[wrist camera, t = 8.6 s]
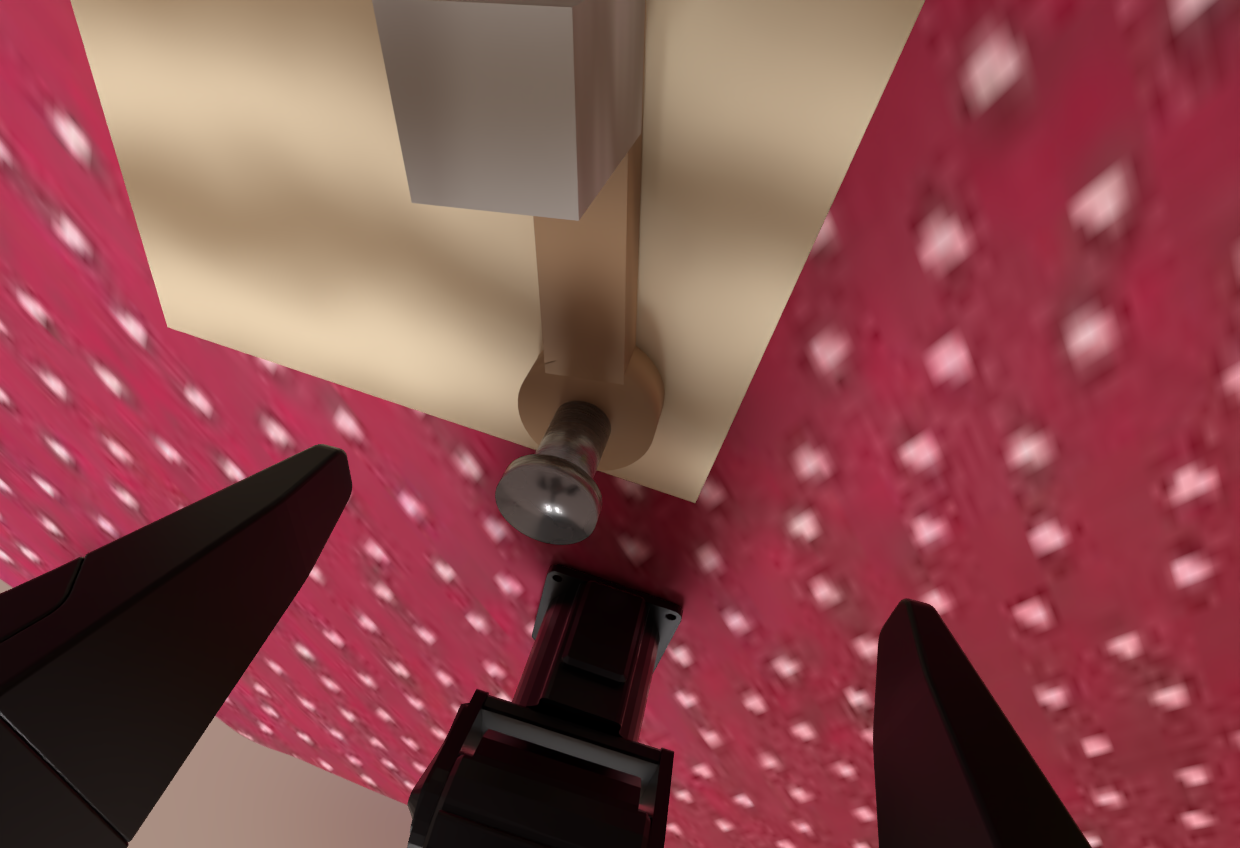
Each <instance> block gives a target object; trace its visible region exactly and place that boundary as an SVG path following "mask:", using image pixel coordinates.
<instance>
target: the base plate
mask: <svg viewBox="0 0 1240 848" xmlns="http://www.w3.org/2000/svg"><path fill="white" fill-rule="evenodd" d="M924 1H925V0H646V28H645V61H644V93H643V126H642V159H641V192H640V224H639V257H638V290H637V323H636V346H637V347H638V348H640V349H641V350H642V351H643V352H644V353H645V354H646V355H647V356H648V357H649V358H650V359H651V360H652V362H653V363H654V365H655V366H656V368H657V369H658V371H659V373H660V375H661V378H662V381H663V384H664V390H665V399H664V406H663V409H662V412H661V416H660V419H659V422H658V425H657V429H656V432H655V435H654V439H653V442H652V444H651V446H650V448H649V449H648V451H647V452H646V453H645V454H644V455H643V456H642V457H641V458H640V459H639V460H637V461H636V462H634V463H633V464H631V465H629V466H626V467H623V468H620V469H615V470H608V471H601V472H604V473H607V474H610V475H613V476H615V477H618V478H621V479H624V480H627V481H630V482H633V483H636V484H639V485H642V486H645V487H648V488H651V489H654V490H657V491H660V492H663V493H666V494H669V495H672V496H675V497H678V498H681V499H684V500H687V501H690V502H693V503H696V500H697V498H698V496H699V494H700V492H701V489H702V487H703V485H704V483H705V481H706V478H707V476H708V474H709V472H710V470H711V468H712V465H713V463H714V461H715V459H716V457H717V454H718V452H719V450H720V448H721V446H722V443H723V441H724V439H725V437H726V435H727V433H728V430H729V428H730V426H731V424H732V422H733V419H734V417H735V415H736V413H737V411H738V408H739V406H740V404H741V402H742V400H743V398H744V395H745V393H746V391H747V389H748V387H749V384H750V382H751V380H752V378H753V376H754V373H755V371H756V369H757V367H758V365H759V363H760V360H761V358H762V356H763V354H764V352H765V349H766V347H767V345H768V343H769V341H770V338H771V336H772V334H773V332H774V330H775V327H776V325H777V323H778V321H779V319H780V317H781V314H782V312H783V310H784V308H785V306H786V303H787V301H788V299H789V297H790V295H791V292H792V290H793V288H794V286H795V284H796V282H797V279H798V277H799V275H800V273H801V271H802V268H803V266H804V264H805V262H806V260H807V257H808V255H809V253H810V251H811V249H812V247H813V244H814V242H815V240H816V238H817V236H818V233H819V231H820V229H821V227H822V225H823V222H824V220H825V218H826V216H827V214H828V212H829V209H830V207H831V205H832V203H833V201H834V198H835V196H836V194H837V192H838V190H839V187H840V185H841V183H842V181H843V179H844V177H845V174H846V172H847V170H848V168H849V166H850V163H851V161H852V159H853V157H854V155H855V152H856V150H857V148H858V146H859V144H860V142H861V139H862V137H863V135H864V133H865V131H866V128H867V126H868V124H869V122H870V120H871V117H872V115H873V113H874V111H875V109H876V106H877V104H878V102H879V100H880V98H881V96H882V93H883V91H884V89H885V87H886V85H887V82H888V80H889V78H890V76H891V74H892V71H893V69H894V67H895V65H896V63H897V61H898V58H899V56H900V54H901V52H902V50H903V47H904V45H905V43H906V41H907V39H908V36H909V34H910V32H911V30H912V28H913V26H914V23H915V21H916V19H917V17H918V15H919V12H920V10H921V8H922V6H923V4H924ZM71 4H72V7H73V10H74V14H75V17H76V20H77V24H78V27H79V30H80V34H81V37H82V41H83V44H84V47H85V51H86V54H87V57H88V61H89V64H90V68H91V71H92V74H93V78H94V81H95V84H96V88H97V91H98V94H99V98H100V101H101V105H102V108H103V111H104V115H105V118H106V121H107V125H108V128H109V131H110V135H111V138H112V142H113V145H114V148H115V152H116V155H117V158H118V162H119V165H120V168H121V172H122V175H123V179H124V182H125V185H126V189H127V192H128V195H129V199H130V202H131V205H132V209H133V212H134V216H135V219H136V222H137V226H138V229H139V232H140V236H141V239H142V242H143V246H144V249H145V253H146V256H147V259H148V263H149V266H150V269H151V273H152V276H153V279H154V283H155V286H156V290H157V293H158V296H159V300H160V303H161V306H162V310H163V313H164V316H165V320H166V323H167V327H169V328H172V329H175V330H178V331H181V332H184V333H187V334H190V335H193V336H196V337H199V338H202V339H205V340H208V341H211V342H214V343H217V344H220V345H223V346H226V347H229V348H232V349H235V350H238V351H241V352H244V353H247V354H250V355H253V356H256V357H259V358H262V359H265V360H268V361H271V362H274V363H277V364H280V365H283V366H286V367H289V368H292V369H295V370H298V371H301V372H304V373H307V374H310V375H313V376H316V377H319V378H322V379H325V380H328V381H331V382H334V383H337V384H340V385H343V386H346V387H349V388H352V389H355V390H358V391H361V392H364V393H367V394H370V395H373V396H376V397H379V398H382V399H385V400H388V401H391V402H394V403H397V404H400V405H403V406H406V407H409V408H412V409H415V410H418V411H421V412H424V413H427V414H430V415H433V416H436V417H439V418H442V419H445V420H448V421H451V422H454V423H457V424H460V425H463V426H466V427H469V428H472V429H475V430H478V431H481V432H484V433H487V434H490V435H493V436H496V437H499V438H502V439H505V440H508V441H511V442H514V443H517V444H520V445H523V446H526V447H529V448H532V449H535V450H537V449H538V447H539V445H538V444H537V443H536V442H535V441H534V440H533V439H532V438H531V436H530V435H529V434H528V432H527V431H526V429H525V427H524V425H523V423H522V421H521V418H520V415H519V410H518V394H519V390H520V387H521V385H522V383H523V381H524V379H525V378H526V376H527V374H528V373H529V371H530V369H531V368H532V366H533V364H534V363H535V361H536V359H537V358H538V356H539V354H540V353H541V351H542V350H543V337H542V324H541V311H540V298H539V285H538V272H537V259H536V246H535V233H534V220H533V216H529V215H520V214H510V213H501V212H492V211H482V210H473V209H464V208H454V207H445V206H435V205H426V204H417V203H412V202H411V197H410V191H409V186H408V181H407V176H406V171H405V166H404V161H403V156H402V151H401V146H400V141H399V136H398V130H397V125H396V120H395V115H394V110H393V105H392V100H391V95H390V90H389V85H388V80H387V74H386V69H385V64H384V59H383V54H382V49H381V44H380V39H379V34H378V29H377V24H376V19H375V13H374V8H373V3H372V0H71Z"/></svg>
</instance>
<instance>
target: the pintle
mask: <svg viewBox="0 0 1240 848" xmlns="http://www.w3.org/2000/svg"><path fill="white" fill-rule="evenodd" d="M610 434H611V424H610V421H609V419H608V417H607V416H606V414H605V413H604V412H603V411H602V410H601V409H599V408H598V407H597V406H595V405H593V404H591V403H588V402H584V401H569V402H566V403H564V404H562V405H561V406H560V407H559V408H558V409H557V411H556V413H555V415H554V417H553V419H552V421H551V423H550V425H549V427H548V429H547V431H546V433H545V435H544V437H543V439H542V441H541V443H540V445H539V447H538V449H537V451H536V453H535V454H532V455H526V456H523V457H520V458H518V459H516V460H515V461H513V462H512V463H511V464H510V465H509V466H508V467H507V469H506V471H505V473H504V474H503V476H502V478H501V480H500V482H499V484H498V486H497V488H496V493H495V498H496V503H497V506H498V508H499V511H500V512H501V514H502V515H503V517H504V518H505V519H506V520H507V521H508V522H509V523H510V524H511V525H512V526H513V527H514V528H515V529H517V530H518V531H520V532H521V533H523V534H525V535H526V536H528V537H531V538H533V539H535V540H538V541H541V542H545V543H550V544H557V545H566V544H573V543H577V542H580V541H582V540H584V539H586V538H587V537H588V536H589V535H590V534H591V533H592V532H593V530H594V528H595V526H596V523H597V520H598V517H599V515H600V512H601V509H602V496H601V493H600V490H599V488H598V486H597V484H596V483H595V482H594V480H593V478H594V476H595V473H596V470H597V468H598V465H599V463H600V460H601V457H602V455H603V452H604V449H605V447H606V444H607V442H608V439H609V436H610Z"/></svg>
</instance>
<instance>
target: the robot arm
mask: <svg viewBox="0 0 1240 848" xmlns="http://www.w3.org/2000/svg"><path fill="white" fill-rule="evenodd" d="M351 492H352V480H351V475H350V470H349V465H348V460H347V455H346V453H345V452H344V450H342V449H340V448H336V447H332V446H329V445H325V444H318V445H315V446H313V447H310V448H308V449H306V450H304V451H302V452H300V453H298V454H296V455H294V456H292V457H289V458H287V459H285V460H283V461H281V462H279V463H277V464H275V465H273V466H271V467H268V468H266V469H264V470H262V471H260V472H258V473H256V474H254V475H252V476H250V477H247V478H245V479H243V480H241V481H239V482H237V483H235V484H233V485H231V486H228V487H226V488H224V489H222V490H220V491H218V492H216V493H214V494H212V495H210V496H207V497H205V498H203V499H201V500H199V501H197V502H195V503H193V504H191V505H189V506H186V507H184V508H182V509H180V510H178V511H176V512H174V513H172V514H170V515H168V516H165V517H163V518H161V519H159V520H157V521H155V522H153V523H151V524H149V525H147V526H144V527H142V528H140V529H138V530H136V531H134V532H132V533H130V534H128V535H125V536H123V537H121V538H119V539H117V540H115V541H113V542H111V543H109V544H107V545H104V546H102V547H100V548H98V549H96V550H94V551H92V552H90V553H88V554H86V556H85V558H84V557H79V558H77V559H75V560H73V561H70V562H68V563H66V564H64V565H62V566H60V567H58V568H56V569H54V570H52V571H49V572H47V573H45V574H43V575H41V576H38V577H36V578H34V579H32V580H30V581H27V582H25V583H23V584H21V585H19V586H16V587H14V588H12V589H10V590H8V591H5V592H3V593H0V848H127V847H128V842H130V841H131V840H132V838H133V837H134V836H135V834H136V833H137V831H138V830H139V828H140V827H141V825H142V824H143V822H144V821H145V819H146V818H147V816H148V815H149V813H150V812H151V810H152V809H153V807H154V806H155V804H156V803H157V801H158V800H159V798H160V797H161V795H162V794H163V793H164V791H165V790H166V788H167V787H168V785H169V784H170V782H171V781H172V779H173V778H174V776H175V775H176V773H177V772H178V770H179V768H180V767H181V766H182V764H183V763H184V761H185V760H186V758H187V757H188V755H189V754H190V752H191V751H192V749H193V748H194V746H195V745H196V743H197V742H198V740H199V739H200V737H201V736H202V734H203V733H204V731H205V730H206V728H207V727H208V725H209V724H210V723H211V721H212V719H213V718H214V716H215V715H216V714H217V712H218V711H219V709H220V708H221V706H222V705H223V703H224V702H225V700H226V699H227V697H228V696H229V694H230V693H231V691H232V690H233V688H234V687H235V685H236V684H237V682H238V681H239V679H240V678H241V676H242V675H243V673H244V672H245V670H246V669H247V667H248V666H249V664H250V663H251V661H252V660H253V658H254V657H255V656H256V654H257V653H258V651H259V650H260V648H261V647H262V645H263V644H264V642H265V641H266V639H267V638H268V636H269V635H270V633H271V632H272V630H273V629H274V627H275V626H276V624H277V623H278V621H279V620H280V618H281V617H282V615H283V614H284V612H285V611H286V609H287V608H288V606H289V605H290V603H291V602H292V600H293V599H294V597H295V596H296V594H297V593H298V591H299V590H300V588H301V587H302V585H303V584H304V582H305V581H306V579H307V577H308V576H309V574H310V572H311V570H312V569H313V567H314V565H315V563H316V561H317V559H318V557H319V556H320V554H321V552H322V550H323V548H324V546H325V544H326V542H327V540H328V538H329V536H330V535H331V533H332V531H333V529H334V527H335V525H336V523H337V521H338V519H339V517H340V515H341V513H342V512H343V510H344V508H345V506H346V504H347V502H348V500H349V498H350V495H351ZM682 613H683V610H682V608H681V607H680V606H678V605H676V604H674V603H671V602H668V601H665V600H662V599H659V598H656V597H653V596H650V595H647V594H644V593H641V592H638V591H635V590H632V589H630V588H627V587H624V586H621V585H618V584H615V583H612V582H609V581H606V580H603V579H600V578H597V577H594V576H591V575H588V574H585V573H582V572H579V571H576V570H573V569H571V568H568V567H565V566H562V565H552V566H551V567H550V569H549V571H548V574H547V577H546V581H545V585H544V589H543V593H542V597H541V601H540V605H539V609H538V613H537V617H536V621H535V625H534V629H533V633H532V637H533V639H534V640H535V642H534V645H533V647H532V650H531V653H530V655H529V658H528V661H527V663H526V666H525V669H524V671H523V674H522V677H521V679H520V682H519V685H518V687H517V690H516V692H515V695H514V698H513V700H512V702H509V701H506V700H503V699H500V698H497V697H493V696H490V695H489V693H488V692H485V691H482V690H479V689H476V691H475V693H474V695H473V697H472V699H471V701H470V703H465V704H461V706H460V708H459V710H458V713H457V715H456V717H455V719H454V722H453V724H452V726H451V728H450V731H449V733H448V735H447V737H446V739H445V741H444V743H443V744H442V746H441V748H440V749H439V751H438V752H437V754H436V755H435V757H434V758H433V760H432V761H431V763H430V764H429V766H428V767H427V769H426V770H425V772H424V773H423V775H422V776H421V778H420V779H419V781H418V782H417V784H416V786H415V787H414V789H413V790H412V792H411V795H410V797H409V800H408V807H409V810H410V813H411V816H412V819H413V820H412V824H411V829H410V837H409V841H408V847H407V848H664V842H665V833H666V824H667V814H668V805H669V796H670V786H671V777H672V767H673V758H674V751H671V750H668V749H665V748H661V750H660V749H657V748H654V747H651V746H648V745H644V744H641V743H638V740H639V735H640V730H641V726H642V721H643V716H644V711H645V707H646V702H647V697H648V693H649V688H650V683H651V679H652V674H653V672H654V670H655V669H656V667H657V665H658V663H659V661H660V659H661V657H662V655H663V654H664V652H665V650H666V648H667V646H668V644H669V642H670V640H671V639H672V637H673V635H674V633H675V631H676V629H677V627H678V625H679V624H680V622H681V619H682ZM873 752H874V770H875V787H876V804H877V821H878V837H879V848H1092V847H1091V846H1090V844H1089V842H1088V841H1087V839H1086V838H1085V836H1084V835H1083V833H1082V832H1081V830H1080V829H1079V827H1078V826H1077V824H1076V823H1075V821H1074V820H1073V818H1072V817H1071V815H1070V814H1069V812H1068V810H1067V809H1066V807H1065V806H1064V804H1063V803H1062V801H1061V800H1060V798H1059V797H1058V795H1057V794H1056V792H1055V791H1054V789H1053V788H1052V786H1051V785H1050V783H1049V782H1048V780H1047V778H1046V777H1045V775H1044V774H1043V772H1042V771H1041V769H1040V768H1039V766H1038V765H1037V763H1036V762H1035V760H1034V759H1033V757H1032V756H1031V754H1030V753H1029V751H1028V749H1027V748H1026V746H1025V745H1024V743H1023V742H1022V740H1021V739H1020V737H1019V736H1018V734H1017V733H1016V731H1015V730H1014V728H1013V727H1012V725H1011V724H1010V722H1009V721H1008V719H1007V717H1006V716H1005V714H1004V713H1003V711H1002V710H1001V708H1000V707H999V705H998V704H997V702H996V701H995V699H994V698H993V696H992V695H991V693H990V692H989V690H988V688H987V687H986V685H985V684H984V682H983V681H982V679H981V678H980V676H979V675H978V673H977V672H976V670H975V669H974V667H973V666H972V664H971V663H970V661H969V660H968V658H967V656H966V655H965V653H964V652H963V650H962V649H961V647H960V646H959V644H958V643H957V641H956V640H955V638H954V637H953V635H952V634H951V632H950V631H949V629H948V628H947V626H946V624H945V623H944V621H943V620H942V618H941V617H940V615H939V614H938V612H937V611H936V609H935V608H934V607H933V606H931V605H930V604H927V603H923V602H920V601H916V600H912V599H906V598H905V599H903V600H901V601H900V602H899V604H898V605H897V607H896V608H895V609H894V611H893V612H892V614H891V615H890V617H889V618H888V620H887V621H886V623H885V624H884V626H883V627H882V629H881V632H880V635H879V641H878V655H877V673H876V690H875V707H874V725H873Z"/></svg>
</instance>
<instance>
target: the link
mask: <svg viewBox="0 0 1240 848" xmlns="http://www.w3.org/2000/svg"><path fill="white" fill-rule="evenodd" d="M372 3H373V8H374V13H375V19H376V24H377V29H378V34H379V39H380V44H381V49H382V54H383V59H384V64H385V69H386V74H387V80H388V85H389V90H390V95H391V100H392V105H393V110H394V115H395V120H396V125H397V130H398V136H399V141H400V146H401V151H402V156H403V161H404V166H405V171H406V176H407V181H408V186H409V191H410V197H411V202H412V203H417V204H426V205H435V206H445V207H454V208H464V209H473V210H482V211H492V212H501V213H510V214H520V215H529V216H533V220H534V233H535V246H536V259H537V272H538V285H539V298H540V311H541V324H542V337H543V350H542V351H541V353H540V354H539V356H538V358H537V359H536V361H535V363H534V364H533V366H532V368H531V369H530V371H529V373H528V374H527V376H526V378H525V379H524V381H523V383H522V385H521V387H520V390H519V394H518V410H519V415H520V418H521V421H522V423H523V425H524V427H525V429H526V431H527V432H528V434H529V435H530V436H531V438H532V439H533V440H534V441H535V442H536V443H537V444H538V445H540V443H541V441H542V439H543V437H544V435H545V433H546V431H547V429H548V427H549V425H550V423H551V421H552V419H553V417H554V415H555V413H556V411H557V409H558V408H559V407H560V406H561V405H562V404H564V403H566V402H569V401H584V402H588V403H591V404H593V405H595V406H597V407H598V408H599V409H601V410H602V411H603V412H604V413H605V414H606V416H607V417H608V419H609V421H610V424H611V434H610V436H609V439H608V442H607V444H606V447H605V449H604V452H603V455H602V457H601V460H600V463H599V465H598V468H597V470H596V471H608V470H615V469H620V468H623V467H626V466H629V465H631V464H633V463H634V462H636V461H637V460H639V459H640V458H641V457H642V456H643V455H644V454H645V453H646V452H647V451H648V449H649V448H650V446H651V444H652V442H653V439H654V435H655V432H656V429H657V425H658V422H659V419H660V416H661V412H662V409H663V406H664V399H665V390H664V384H663V381H662V378H661V375H660V373H659V371H658V369H657V368H656V366H655V365H654V363H653V362H652V360H651V359H650V358H649V357H648V356H647V355H646V354H645V353H644V352H643V351H642V350H641V349H640V348H638V347H637V346H636V323H637V290H638V257H639V224H640V192H641V159H642V126H643V93H644V61H645V28H646V0H372Z"/></svg>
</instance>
